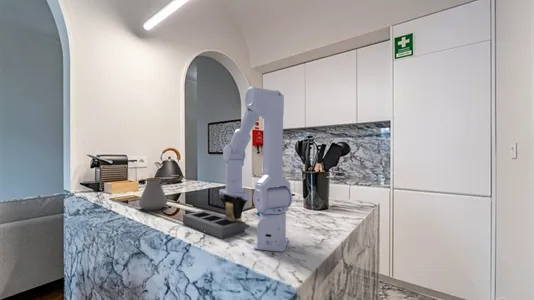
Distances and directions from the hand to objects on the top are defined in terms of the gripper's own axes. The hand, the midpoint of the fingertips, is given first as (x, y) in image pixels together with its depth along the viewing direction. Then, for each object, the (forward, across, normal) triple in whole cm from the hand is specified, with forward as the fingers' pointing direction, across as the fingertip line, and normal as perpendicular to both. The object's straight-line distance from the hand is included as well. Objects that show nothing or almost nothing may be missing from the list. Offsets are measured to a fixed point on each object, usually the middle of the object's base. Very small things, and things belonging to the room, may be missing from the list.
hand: (233, 217), depth 90 cm
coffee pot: (+2, +37, +9) cm, 38 cm away
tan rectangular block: (+2, 0, 0) cm, 2 cm away
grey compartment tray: (+2, 0, +9) cm, 9 cm away
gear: (+2, -2, -14) cm, 15 cm away
